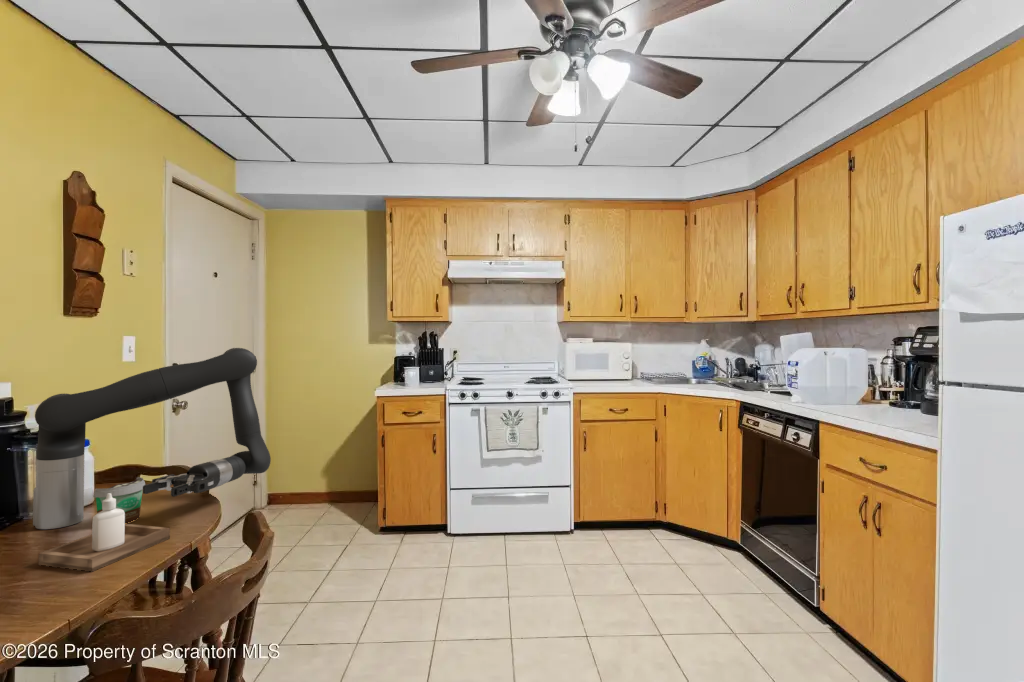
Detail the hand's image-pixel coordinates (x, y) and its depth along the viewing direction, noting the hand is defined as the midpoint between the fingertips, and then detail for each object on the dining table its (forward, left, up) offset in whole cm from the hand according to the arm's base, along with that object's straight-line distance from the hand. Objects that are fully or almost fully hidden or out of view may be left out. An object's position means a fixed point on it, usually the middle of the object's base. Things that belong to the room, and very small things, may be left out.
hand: (158, 491), depth 124 cm
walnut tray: (0, -13, -10) cm, 16 cm away
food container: (-14, +3, -10) cm, 17 cm away
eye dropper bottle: (0, -12, -9) cm, 16 cm away
